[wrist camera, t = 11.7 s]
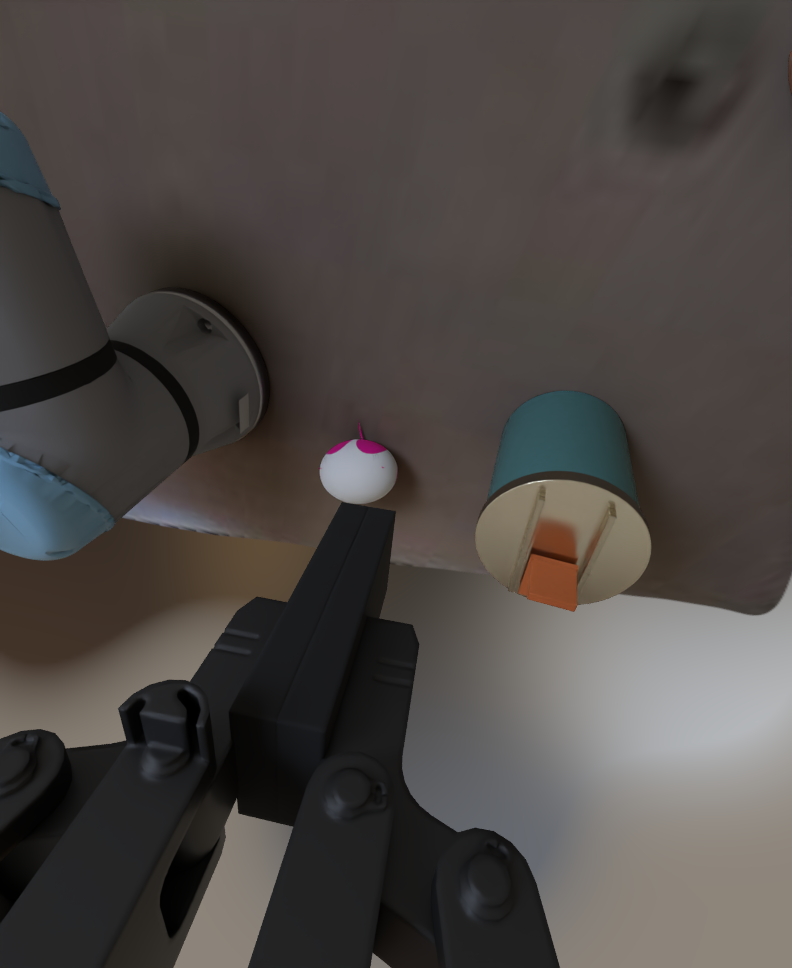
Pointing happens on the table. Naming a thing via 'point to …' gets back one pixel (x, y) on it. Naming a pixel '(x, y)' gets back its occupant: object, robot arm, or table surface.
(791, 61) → the pottery mug
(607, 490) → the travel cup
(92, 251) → the table surface
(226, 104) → the table surface
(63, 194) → the table surface
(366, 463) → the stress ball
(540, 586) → the slider
